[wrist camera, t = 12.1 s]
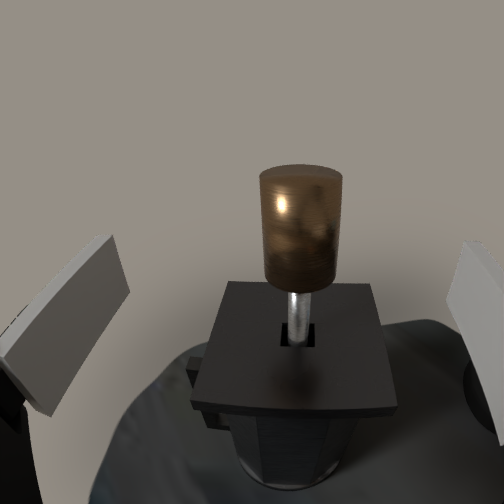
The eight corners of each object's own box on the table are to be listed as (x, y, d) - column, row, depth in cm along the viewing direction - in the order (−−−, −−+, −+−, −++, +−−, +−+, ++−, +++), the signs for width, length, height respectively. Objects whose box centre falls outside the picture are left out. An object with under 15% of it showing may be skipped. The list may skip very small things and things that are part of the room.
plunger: (331, 397, 27) (365, 158, 16) (332, 464, 21) (406, 208, 10) (256, 394, 28) (234, 157, 17) (245, 461, 22) (196, 206, 11)
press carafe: (341, 402, 30) (369, 283, 22) (343, 490, 21) (397, 405, 13) (224, 398, 32) (198, 280, 24) (204, 482, 23) (149, 392, 15)
